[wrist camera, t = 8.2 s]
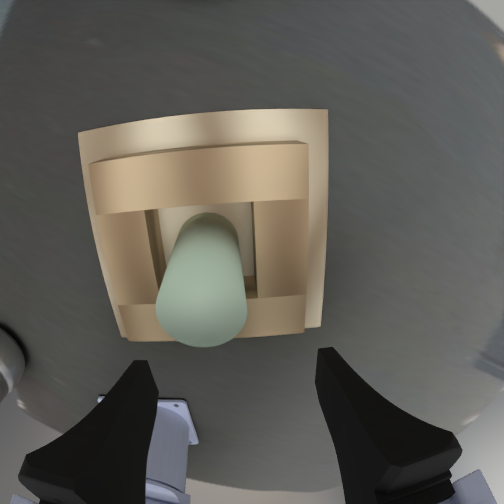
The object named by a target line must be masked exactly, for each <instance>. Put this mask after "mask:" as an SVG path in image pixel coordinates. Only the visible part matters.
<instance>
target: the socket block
mask: <svg viewBox="0 0 504 504" xmlns="http://www.w3.org/2000/svg"><path fill="white" fill-rule="evenodd" d="M78 138H79V148H80V156H81V164H82V171H83V178H84V185H85V191H86V197H87V203H88V208H89V214H90V219H91V224H92V229H93V234H94V238H95V243H96V247H97V252H98V256H99V260H100V264H101V268H102V272H103V276H104V280H105V283H106V287H107V291H108V294H109V298H110V301H111V304H112V308H113V311H114V314H115V318H116V321H117V324H118V327H119V330H120V333H121V336H122V337H128V340H129V341H177V340H175V339H174V338H172V337H171V336H170V335H169V334H167V333H166V332H165V330H164V329H163V328H162V327H161V325H160V323H159V321H158V319H157V316H156V308H155V306H156V300H157V296H158V293H159V290H160V287H161V284H162V281H163V278H164V274H165V271H166V268H167V265H168V262H169V260H170V257H171V254H172V251H173V248H174V245H175V242H176V239H177V237H178V234H179V231H180V229H181V227H182V225H183V224H184V223H185V222H186V221H187V220H188V219H189V218H191V217H192V216H194V215H197V214H200V213H215V214H218V215H221V216H223V217H225V218H226V219H228V220H229V221H230V222H231V223H232V224H233V226H234V227H235V229H236V231H237V234H238V240H239V248H240V256H241V264H242V272H243V280H244V288H245V295H246V303H247V318H246V322H245V324H244V326H243V328H242V329H241V331H240V332H239V333H238V334H237V335H236V336H235V337H234V338H248V337H261V336H273V335H285V334H295V333H304V330H305V328H312V327H320V326H321V315H322V303H323V290H324V275H325V259H326V239H327V213H328V110H324V109H258V110H236V111H221V112H208V113H197V114H187V115H178V116H170V117H162V118H155V119H148V120H142V121H136V122H130V123H124V124H118V125H113V126H108V127H103V128H98V129H93V130H88V131H84V132H80V133H78Z"/></svg>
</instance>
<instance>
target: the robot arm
mask: <svg viewBox="0 0 504 504" xmlns="http://www.w3.org/2000/svg"><path fill="white" fill-rule="evenodd" d="M315 384H316V389H317V394H318V399H319V403H320V406H321V408H322V411H323V414H324V417H325V420H326V423H327V426H328V428H329V431H330V434H331V437H332V440H333V443H334V446H335V449H336V454H337V458H338V463H339V468H340V473H341V478H342V483H343V489H344V495H345V502H346V504H497V503H496V500H495V498H494V496H493V494H492V492H491V490H490V488H489V486H488V484H487V482H486V480H485V478H484V476H483V475H482V472H481V471H480V470H479V469H478V470H476V471H474V472H472V473H470V474H468V475H467V476H464V477H463V478H460V479H459V480H457V481H455V482H454V483H453V484H452V483H451V481H450V478H451V477H452V474H451V472H450V470H449V469H450V468H451V467H452V466H453V464H454V463H455V462H456V461H457V460H458V459H459V457H460V456H461V454H462V448H461V446H460V444H459V442H458V440H457V439H456V437H455V436H454V434H453V433H452V432H450V431H447V430H444V429H441V428H439V427H436V426H433V425H431V424H428V423H426V422H424V421H422V420H420V419H418V418H416V417H414V416H412V415H410V414H408V413H407V412H405V411H403V410H401V409H400V408H398V407H397V406H395V405H394V404H392V403H391V402H389V401H388V400H387V399H385V398H384V397H383V396H381V395H380V394H379V393H378V392H376V391H375V390H374V389H373V388H372V387H371V386H370V385H368V384H367V383H366V382H365V381H364V380H363V379H362V378H361V377H360V376H359V375H358V374H357V373H356V372H355V371H354V370H353V369H352V368H351V367H350V366H349V365H348V364H347V363H346V361H345V360H344V359H343V358H342V357H341V356H340V355H339V354H338V352H337V351H336V350H335V349H334V348H333V347H328V348H320V349H318V356H317V366H316V376H315ZM158 394H159V392H158V389H157V386H156V384H155V381H154V378H153V375H152V373H151V370H150V367H149V364H148V361H147V360H134V361H133V362H132V364H131V365H130V366H129V367H128V369H127V370H126V371H125V372H124V374H123V375H122V376H121V377H120V379H119V380H118V381H117V383H116V384H115V385H114V386H113V387H112V389H111V390H110V391H109V392H108V393H107V395H106V396H99V397H98V402H99V404H98V405H97V406H96V407H95V408H94V409H93V410H92V411H91V412H90V413H89V414H88V415H87V416H86V417H85V418H83V419H82V420H81V421H80V422H79V423H78V424H76V425H75V426H74V427H72V428H71V429H70V430H68V431H67V432H66V433H64V434H63V435H62V436H60V437H59V438H57V439H55V440H54V441H52V442H50V443H49V444H47V445H45V446H43V447H41V448H39V449H37V450H35V451H33V452H31V453H29V454H27V455H26V457H25V459H24V462H23V465H22V467H21V470H20V472H19V475H18V479H19V481H20V482H21V483H22V484H23V485H24V486H25V487H26V488H27V489H28V490H30V491H31V492H32V493H33V494H34V495H35V496H37V497H38V498H39V499H40V502H39V504H190V495H187V494H185V484H186V469H187V456H188V444H194V445H195V444H198V443H199V440H198V437H197V434H196V431H195V428H194V424H193V421H192V418H191V415H190V412H189V409H188V405H187V403H186V401H184V400H160V399H158ZM10 504H37V503H35V502H34V501H31V500H29V499H26V498H23V497H21V496H19V495H17V494H13V496H12V500H11V502H10Z"/></svg>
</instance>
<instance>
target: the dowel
mask: <svg viewBox="0 0 504 504" xmlns="http://www.w3.org/2000/svg"><path fill="white" fill-rule="evenodd" d="M155 308H156V316H157V319H158V321H159V323H160V325H161V327H162V328H163V329H164V330H165V332H166V333H167V334H169V335H170V336H171V337H172V338H174V339H175V340H177V341H179V342H181V343H183V344H186V345H190V346H194V347H213V346H217V345H221V344H223V343H226V342H228V341H229V340H231V339H232V338H234V337H235V336H236V335H237V334H238V333H239V332H240V331H241V329H242V328H243V326H244V324H245V322H246V318H247V303H246V295H245V288H244V280H243V272H242V264H241V256H240V248H239V240H238V234H237V231H236V229H235V227H234V226H233V224H232V223H231V222H230V221H229V220H228V219H226V218H225V217H223V216H221V215H218V214H215V213H200V214H197V215H194V216H192V217H191V218H189V219H188V220H187V221H186V222H185V223H184V224H183V225H182V227H181V229H180V231H179V234H178V237H177V239H176V242H175V245H174V248H173V251H172V254H171V257H170V260H169V262H168V265H167V268H166V271H165V274H164V278H163V281H162V284H161V287H160V290H159V293H158V296H157V300H156V306H155Z"/></svg>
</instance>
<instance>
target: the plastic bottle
mask: <svg viewBox="0 0 504 504" xmlns="http://www.w3.org/2000/svg"><path fill="white" fill-rule="evenodd" d="M24 370H25V359H24V355H23V352H22V350H21V348H20V346H19V345H18V343H17V342H16V341H15V339H14V338H13V337H12V336H11V335H10V334H9V333H7V332H6V331H5V330H3V329H1V328H0V404H1V402H2V401H3V400H4V398H5V397H6V396H7V394H9V393H10V392H11V391H12V390H13V389H14V388H15V387H16V386H17V384H18V383H19V382H20V380H21V378H22V375H23V373H24Z"/></svg>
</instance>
